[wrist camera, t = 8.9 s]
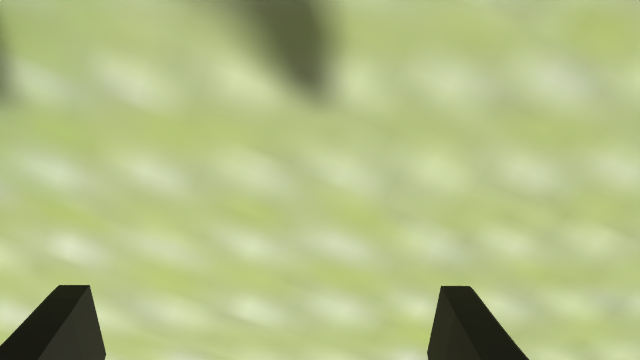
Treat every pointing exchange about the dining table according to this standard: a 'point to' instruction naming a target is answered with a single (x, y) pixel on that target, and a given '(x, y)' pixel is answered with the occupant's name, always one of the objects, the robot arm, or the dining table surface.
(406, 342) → the dining table surface
